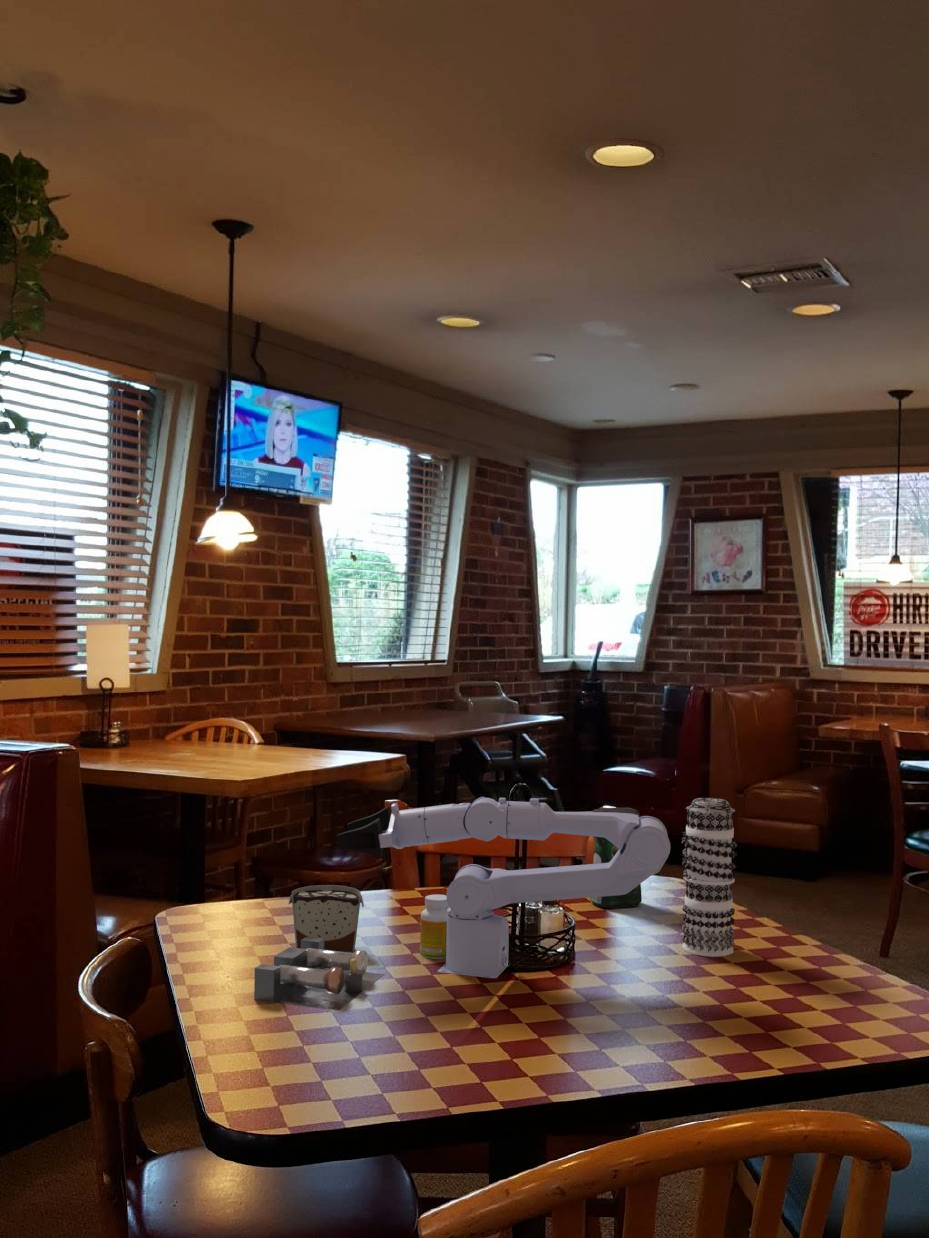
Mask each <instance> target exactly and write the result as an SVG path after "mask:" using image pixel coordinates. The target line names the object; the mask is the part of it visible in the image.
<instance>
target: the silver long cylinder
mask: <svg viewBox="0 0 929 1238" xmlns="http://www.w3.org/2000/svg"><path fill="white" fill-rule="evenodd" d="M307 949H308V951H307V966H312V967H321V968H329V969H330V968H332V967H337V968H342V969H343V970H347V971H350V959H357V971H360V972H362V973H363V974H362V976H363V975H364V974H365V972H367V968H368V963H369V955H368V952H367V951H366V950H363V949H362V950H361V949H356V950H355V951H354V953H352V952H340V951H331V950H322V949H313V948H307Z"/></svg>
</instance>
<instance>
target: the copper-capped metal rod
mask: <svg viewBox="0 0 929 1238" xmlns="http://www.w3.org/2000/svg"><path fill="white" fill-rule="evenodd" d="M280 984H287V985H295V986H303V987H312V988H320V989H327V992H328V993H330V994H339V993H340V992H341V990H342V988H343V984H344V971H343V969H342V968H337V967H332V968H330V970H323V969H314V968H305V967H297V966H288V965H280Z"/></svg>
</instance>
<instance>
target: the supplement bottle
mask: <svg viewBox="0 0 929 1238" xmlns="http://www.w3.org/2000/svg"><path fill="white" fill-rule="evenodd" d="M424 904H425V905H424V906H425V907H426V908H425V909H424V910H422V911H421V912H420V913H421V914H420V938H419V939H420V941H419V943H420V944H419V953H420V954H419V955H420V956H421V957H423V958H427V959H434V960H435V959H437V960H440V959H446V937H447V909H448V908H449V905H448V903H447V898H446V895H445V894H430V895H429V894H428V895H426V896H425V898H424Z"/></svg>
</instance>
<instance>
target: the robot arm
mask: <svg viewBox="0 0 929 1238" xmlns="http://www.w3.org/2000/svg"><path fill="white" fill-rule="evenodd" d="M539 801H540V799H539V798H536V797H535V798H533V797H531V798H530V799H529V801H518V800H517V801H513V800H507V798H506V797H499V799H498V801H496V800H495V799H494V798H490V797H485V796H480V797H478V798H476V799H475V800H474V801H473V802H472V803H471V802H461V803H449V804H441V805H432V806H425V807H415V808H409V809H399V805H398V802H395V803H392V804H391V806H389V805H387V806H386V807H384V808H382V809H380V811H378V812H376V813H374V814H371V815H369V816H366V817H362V818H360V819H359V818H358V819H356V820H353V821H351V822H349V823H347V824H346V825H347V831H344V832H341V833H339V834H337V835H336V844H337V849H339V850H343V851H356V852H363V853H367V854H371V855H373V856H375V857H377V858H382V857H383V856H384V848H395V849H397V850H402V849H403V848H406V847H407V848H409V847H416V846H425V845H432V844H441V843H448V842H449V843H450V842H456V841H459V840H465V839H466V840H467V839H472V838H473V839H477V840H479V841H483V842H490V841H492V840H494V839H496V838H497V837H498V836H499V837H502V838H503V839H511V840H512V839H513V840H514V839H515V840H527V841H529V840H530V841H531V840H533V841H546V839H548V838H549V837H550V836H551V835H552V834H565V835H575V836H576V835H577V836H587V837H593V836H595V837H604V838H606V839H607V840H609V841H610V842H611V843H613V844H614V845H615V846H616V847H618V848H619V850H618V851H617V853H616V854H615V856H614V857H613V858H612V860H611V861H610V862H609V863H599V864H593V863H588V864H578V865H577V864H576V865H565V866H564V865H563V866H561V865H560V866H551V867H539V868H525V869H523V868H522V869H513V870H507V869H505V868H499V867H498V868H487V867H484V866H482V865H480V864H474V863H470V864H467V865H464V866H462V867H461V868H460V869H459V870H458V871H457V872H456V873H455V876H454V879H453V881H451V882H450V884H449V885H448V888H447V891H446V898H447V903H448V905H449V907H448V909H447V937H446V958H445V964H443V965H442V966H441V967H440V968H439V969H437V973H445V974H453V975H462V976H471V977H481V978H487V979H497V978H499V976H500V975H501V974H502V973H503V972H504V971H505V970H506V969H507V968H508V967H509V965H508V963H509V946H510V945H509V942H510V941H509V939H510V938H509V933H510V929H509V927H510V925H509V921H508V918H507V917H506V916H501V915H497V914H495V913H494V910H497V909H499V908H502V907H504V906H507V905H510V904H520V903H522V904H523V903H534V902H549V901H559V900H560V901H561V900H574V899H586V898H587V899H590V897H603V896H616V895H624V894H627V893H629V892H630V891H631V890H633V889H634V888H635V887H637V886H638V885H639V884H641V885H642V883H644V882H645V881H646V880H647V879H649V878H650V877H651V876H653V875H656V874H658V873H659V872H660V871H661V870H662V867H663V866H664V865H665V863H666V861H667V860H668V858H669V855H670V853H671V842H670V839H669V836H668V830H667V828H666V826H665V824H664V823H663V822H662V821H661V820H660V819H659V818H656V817H654V816H650V815H642V816H640V817H638V815H635V814H630V813H614V812H593V811H585V812H584V811H554V810H553V809H552V807H550V806H549V805H548V803H546V802H539Z"/></svg>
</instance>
